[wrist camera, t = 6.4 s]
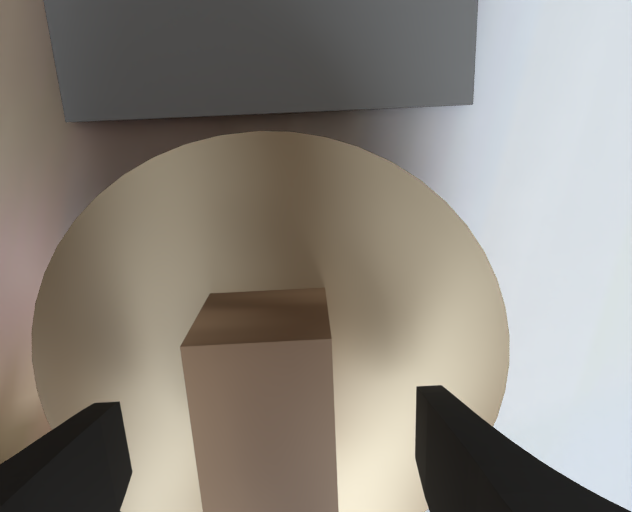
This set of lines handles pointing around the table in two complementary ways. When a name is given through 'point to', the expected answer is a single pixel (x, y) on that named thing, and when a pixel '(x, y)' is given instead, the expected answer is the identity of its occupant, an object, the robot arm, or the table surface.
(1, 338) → the table surface
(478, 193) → the table surface
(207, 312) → the lid
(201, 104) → the mat
